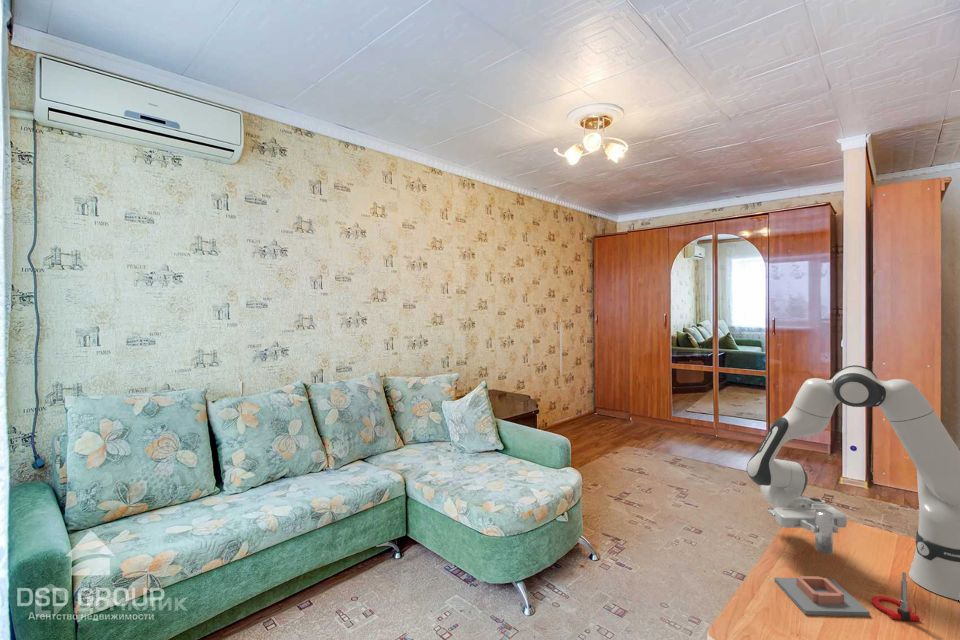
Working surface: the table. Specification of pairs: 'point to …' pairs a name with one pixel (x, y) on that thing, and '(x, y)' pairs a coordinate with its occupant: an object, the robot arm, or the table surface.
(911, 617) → the tow hook
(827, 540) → the brushed steel cylinder
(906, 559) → the table surface
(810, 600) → the keeper
